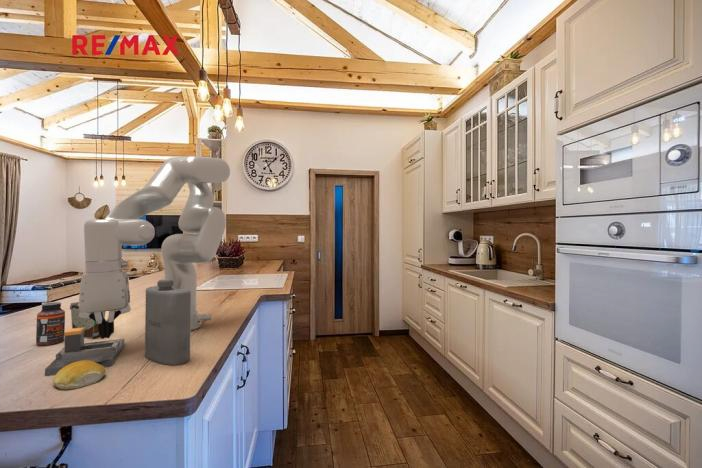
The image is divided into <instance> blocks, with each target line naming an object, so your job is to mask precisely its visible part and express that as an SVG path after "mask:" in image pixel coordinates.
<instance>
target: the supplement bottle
mask: <svg viewBox="0 0 702 468" xmlns="http://www.w3.org/2000/svg"><path fill="white" fill-rule="evenodd" d="M61 307H62V303H61V302H60V301H59V302H57V301H54V302H53V301H52V302H46V303H43V304H42V305H41V311H39V312H38V313H37V314H36V330H35V331H36V332H35V333H36V334H35V339H36V340H35V342H36V345H37V346H52V345H54V344H55V345H56V344H59V343H61V342H64V341H65V336H64V332H65V331H66V330H65V329H66V328H65V327H66V322H65V321H66V311H65V310H64V309H62V308H61Z"/></svg>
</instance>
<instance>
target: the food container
mask: <svg viewBox="0 0 702 468" xmlns="http://www.w3.org/2000/svg"><path fill="white" fill-rule="evenodd" d="M69 310H70V314H71V315H70V316H71V329H73V328H83V327H85V331H84V339H88V340H89V339H90V340H95V339H97V338H101V335H99V331H98V324H97V323H96V322H95V321H94V320H92V319H91V318H83V317H79V313H80V309H79V301H76V302H71V303H70V305H69ZM103 314H104V318H105V317H106V311H103ZM105 319H106V318H105Z"/></svg>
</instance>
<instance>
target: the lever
mask: <svg viewBox="0 0 702 468" xmlns="http://www.w3.org/2000/svg"><path fill="white" fill-rule="evenodd" d="M84 331H85V327H83V328H73V329H72V328H68V329H67V330H65V332H64V347H65V352H72V351H80V350H84V343H85V338H84Z"/></svg>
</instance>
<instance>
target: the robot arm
mask: <svg viewBox="0 0 702 468" xmlns="http://www.w3.org/2000/svg"><path fill="white" fill-rule="evenodd" d="M230 174H231V169H230V165H229V164H228V162H227V161H225V160H224V159H223V158H219V157H206V156H198V155H195V156H194V155H190V156H189V155H188V156H187V155H186V156H185V155H184V156H175V157H174V156H173V157H169V158H168V159H166V160H164V162H163V163H162V164H161V165H160V167H159V168H158V169H157V170H156V171H155V173H153V175H152V176H151V178H150V179H149V180H148V182H147V183H146V184H145V185H144V186H143V187H142V188H140V189H138V190H137V191H135V192H134V193H132V194H131V195H129V196H128V197H126V198H125V199H123V200H121V201H120V202H119V203H118V204H117V205H115V206H114V208H113V207H112V210H110V212H109V213H108V214H107V216H106V217H105V218H104V219H101V218H100V219H88V220H87V221H85V223H84V224H83V225H84V226H83V235H84V238H83V239H84V260H85V261H84V266H85V268H84V269H85V272H84V273H82V275H81V279H80V285H79V294H78V295H79V297H78V302H79V309H80V313H79V317H83V318H91V319H92V320H94V321H95V322H96V323H97V324H98V331H99V335H101V336H100V339H102V340H104V339H105V338H106V339H110V338H111V336H112V334H114V333H115V320H116V319H117V318H118V317H119V316H120V315H124V314H126V313H129V312H130V311H131V310H132V308H131V304H130V302H131V293H130V283H129V277H128V273H127V270H125V269H124V268H126V267H129V266H130V262H129V261H124V259H123V253H122V252H123V249H122V248H123V246H133V247H134V246H135V247H136V246H144V245H146V244H148V243H150V242H152V240H153V239H154V238H155V235H156V234H155V233H156V232H155V231H156V230H155V227H154V225H153V224H152V223H151V222H149V221H148V220H146V219H142V218H143V217H144V216H146V215H148V214H151V213H154V212H155V211H159V210H161V209H164V208H166V207H168V206H170V205H171V204H172V203H173V201H175V199H176V197H177V196H178V194H179V193H180V191H181V190H182V188H183V187H184V186H185V185H186V184H187V186H188V189H189V193H188V197H187V200H186V202H185V205H184V207H183V210H182V211H181V214H180V216H179V218H178V228H179V230H180V231H182V232H184V233H175V234H172V235H169V236H167V237H166V238H165V239H164V240H163V242H162V244H161V247H160V248H161V249H160V250H161V256H162V257H161V258H162V260H163V266H164V267H163V268H164V279H172V280H173V286H172V288H175V289H185V290H190V291H191V309H190V332H191V331H194V330H197V329H199V328H200V327H201V326H202V321H211V319H212V314H207V313H203V314H201V313H198V310H197V298H198V297H197V289H198V288H197V285H198V284H197V283H198V282H197V281H198V280H197V279H198V277H197V270H196V268H195V265H194V264H206V263H209V262H210V261H212V260H213V259H214V257H215V256H216V254H217V252H218V249H219V246H220V244H221V240H222V239H223V236H224V232H225V230H226V226H227V217H226V214H225V212H224V211H223V210H222V209H221V208H219V207H217V206H213V205H214V203H215V196H214V193H213V191H212V190H211V188H210V186H209V185H208V184H218V183H225V182H226V181H227V180H229V177H230ZM103 311H105V312H108V314H107V315H108V316H107V320H106V318H104V314H103Z"/></svg>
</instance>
